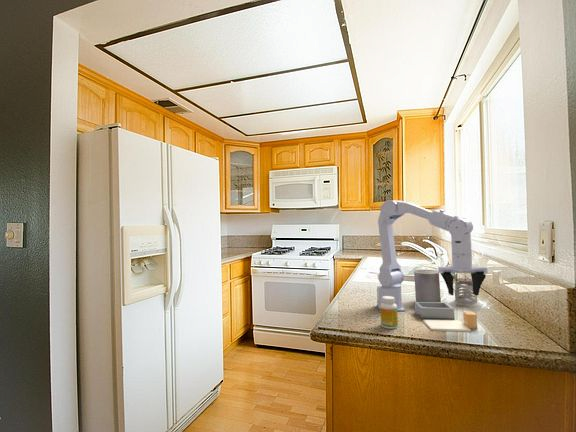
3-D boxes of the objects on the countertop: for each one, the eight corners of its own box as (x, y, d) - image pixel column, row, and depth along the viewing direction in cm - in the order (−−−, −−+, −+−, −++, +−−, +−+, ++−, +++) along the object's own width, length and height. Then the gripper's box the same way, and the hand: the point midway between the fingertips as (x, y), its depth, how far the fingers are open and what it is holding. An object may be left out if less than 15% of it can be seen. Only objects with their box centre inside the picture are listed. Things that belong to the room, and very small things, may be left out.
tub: (421, 319, 102) (421, 308, 102) (415, 312, 110) (414, 301, 110) (454, 320, 100) (454, 308, 100) (445, 312, 108) (445, 302, 108)
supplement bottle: (396, 330, 92) (394, 300, 93) (379, 327, 95) (378, 298, 95) (399, 325, 97) (398, 296, 97) (383, 322, 100) (382, 294, 100)
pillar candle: (427, 299, 127) (425, 265, 128) (446, 304, 118) (444, 268, 119) (410, 302, 124) (408, 267, 124) (428, 308, 115) (426, 270, 115)
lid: (431, 330, 91) (430, 316, 91) (423, 321, 100) (422, 308, 100) (481, 331, 89) (480, 317, 89) (469, 322, 97) (468, 309, 97)
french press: (479, 307, 113) (476, 244, 114) (446, 303, 120) (443, 244, 121) (481, 301, 121) (478, 243, 122) (450, 298, 128) (447, 242, 129)
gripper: (442, 255, 93) (444, 297, 93) (491, 255, 91) (493, 298, 90) (435, 253, 100) (437, 292, 100) (480, 252, 98) (482, 292, 97)
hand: (463, 294), depth 96 cm, fingers open, 7 cm apart
